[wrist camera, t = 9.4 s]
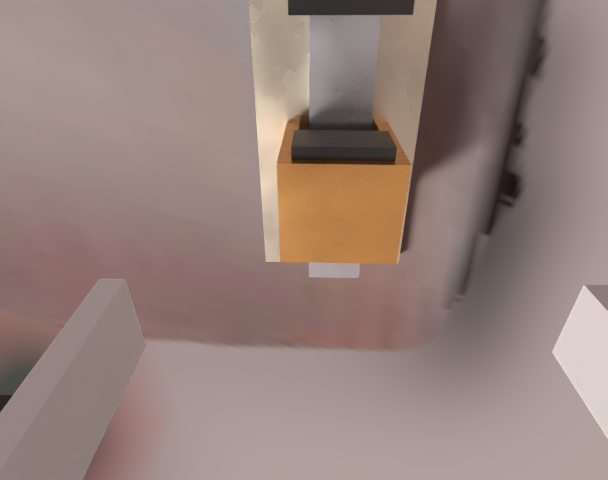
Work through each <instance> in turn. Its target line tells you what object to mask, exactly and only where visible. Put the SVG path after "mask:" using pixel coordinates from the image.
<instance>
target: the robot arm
mask: <svg viewBox="0 0 608 480" xmlns="http://www.w3.org/2000/svg"><path fill="white" fill-rule="evenodd" d="M145 346H146V344H145V341H144V338H143V335H142V331H141V328H140V325H139V322H138V319H137V315H136V312H135V309H134V306H133V302H132V299H131V296H130V293H129V290H128V286H127V283H126V280H125V279H99V280H98V281H97V282H96V284H95V285H94V286H93V288H92V289H91V290H90V292H89V293H88V295H87V296H86V297H85V299H84V300H83V301H82V303H81V304H80V305H79V307H78V308H77V309H76V311H75V312H74V313H73V315H72V316H71V318H70V319H69V320H68V322H67V323H66V324H65V326H64V327H63V328H62V330H61V331H60V332H59V334H58V335H57V336H56V338H55V339H54V341H53V342H52V343H51V345H50V346H49V347H48V349H47V350H46V352H45V353H44V354H43V356H42V357H41V358H40V360H39V361H38V362H37V363H36V365H35V366H34V368H33V369H32V370H31V372H30V373H29V374H28V376H27V377H26V378H25V380H24V381H23V382H22V384H21V385H20V387H19V388H18V389H17V391H16V392H15V393H14V395H13V396H9V395H0V480H82V479H83V477H84V475H85V473H86V471H87V469H88V466H89V465H90V462H91V460H92V458H93V456H94V454H95V452H96V449H97V448H98V445H99V443H100V441H101V439H102V437H103V435H104V433H105V431H106V429H107V426H108V424H109V422H110V420H111V418H112V416H113V414H114V412H115V409H116V407H117V405H118V403H119V401H120V399H121V397H122V395H123V392H124V391H125V388H126V386H127V384H128V382H129V380H130V378H131V375H132V373H133V372H134V369H135V367H136V365H137V363H138V361H139V359H140V357H141V355H142V353H143V350H144V348H145ZM552 353H553V355H554V356H555V358H556V359H557V361H558V362H559V364H560V365H561V367H562V369H563V370H564V371H565V373H566V375H567V376H568V378H569V379H570V381H571V383H572V384H573V386H574V387H575V389H576V390H577V392H578V394H579V395H580V397H581V398H582V400H583V401H584V403H585V404H586V406H587V408H588V409H589V410H590V412H591V414H592V415H593V417H594V418H595V420H596V422H597V423H598V425H599V426H600V428H601V429H602V431H603V432H604V434H605V435H606V437H607V439H608V285H584V286H583V288H582V290H581V292H580V294H579V296H578V298H577V301H576V303H575V305H574V307H573V309H572V311H571V313H570V315H569V317H568V320H567V322H566V324H565V326H564V328H563V330H562V332H561V334H560V336H559V338H558V341H557V343H556V345H555V347H554V349H553V351H552Z"/></svg>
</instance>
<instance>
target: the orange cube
mask: <svg viewBox="0 0 608 480" xmlns="http://www.w3.org/2000/svg"><path fill="white" fill-rule="evenodd" d="M410 171H411V164H410V162H409V160H408V158H407V156H406V154H405V153H404V151H403V149H402V147H401V145H400V143H399V141H398V140H397V138H396V136H395V134H394V132H393V130H392V128H391V127H390V125H389V123H388V122H375V131H345V130H300V121H287V124H286V128H285V132H284V136H283V140H282V144H281V148H280V152H279V156H278V160H277V190H278V218H279V246H280V262H310V263H361V264H397V257H398V251H399V244H400V238H401V231H402V224H403V218H404V211H405V204H406V198H407V191H408V185H409V178H410Z"/></svg>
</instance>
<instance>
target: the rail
mask: <svg viewBox="0 0 608 480" xmlns="http://www.w3.org/2000/svg"><path fill="white" fill-rule="evenodd" d="M436 4H437V0H249V14H250V29H251V44H252V59H253V74H254V90H255V105H256V120H257V135H258V150H259V165H260V181H261V196H262V211H263V226H264V241H265V256H266V262H280V246H279V218H278V190H277V160H278V156H279V152H280V148H281V144H282V140H283V136H284V132H285V128H286V124H287V121H300V130H345V131H375V122H388V123H389V125H390V127H391V128H392V130H393V132H394V134H395V136H396V138H397V140H398V141H399V143H400V145H401V147H402V149H403V151H404V153H405V154H406V156H407V158H408V160H409V162H410V164H411V171H410V178H409V185H408V191H407V198H406V204H405V211H404V218H403V224H402V231H401V238H400V244H399V251H398V257H397V264H399V257H400V250H401V243H402V236H403V230H404V223H405V216H406V209H407V202H408V195H409V189H410V182H411V175H412V168H413V161H414V154H415V147H416V141H417V134H418V127H419V120H420V113H421V106H422V100H423V93H424V86H425V79H426V72H427V65H428V58H429V52H430V45H431V38H432V31H433V24H434V17H435V11H436ZM359 269H360V263H310V262H309V277H334V278H359Z"/></svg>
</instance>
